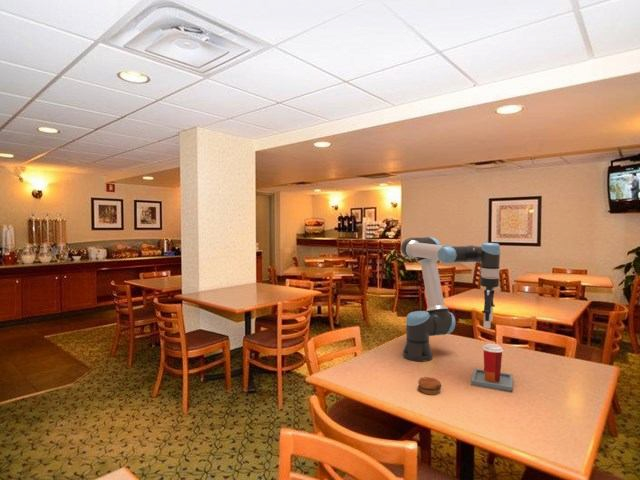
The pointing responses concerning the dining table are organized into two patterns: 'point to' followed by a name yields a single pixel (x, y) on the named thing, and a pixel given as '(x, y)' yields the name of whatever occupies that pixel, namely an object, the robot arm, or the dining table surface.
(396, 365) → the dining table surface
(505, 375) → the tray
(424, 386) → the burger
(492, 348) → the coffee cup
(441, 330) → the robot arm
